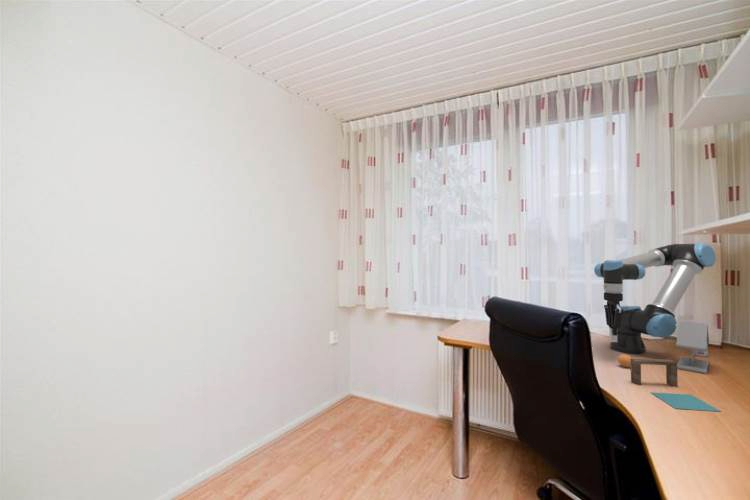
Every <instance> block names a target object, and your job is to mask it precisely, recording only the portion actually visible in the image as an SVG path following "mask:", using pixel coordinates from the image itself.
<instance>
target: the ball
mask: <svg viewBox="0 0 750 500" xmlns="http://www.w3.org/2000/svg"><path fill="white" fill-rule="evenodd" d="M631 359H633V358H632V357H631V356H630V355H628V354H620V355H619V356H618V357H617V362H618V364H619V365H620V366H621V367H623V368H631Z"/></svg>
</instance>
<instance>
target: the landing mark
mask: <svg viewBox="0 0 750 500" xmlns="http://www.w3.org/2000/svg"><path fill="white" fill-rule="evenodd" d="M650 394H651V395H653V396H654V397H656V398H658V399H659V400H661V401H662V402H663V403H665V404H667V405H669V406H670V407H672V408H673V409H674V410H683V411H685V410H688V411H703V412H704V411H705V412H719V413H720V412H722V411H721V410H720V409H718V408H716V407H714V406H713V405H711V404H709V403H707V402H705V401H703V400H702V399H701V398H698V397H696V396H694V395H693V394H687V393H671V392H670V393H669V392H655V391H654V392H652V391H651V392H650Z"/></svg>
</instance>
